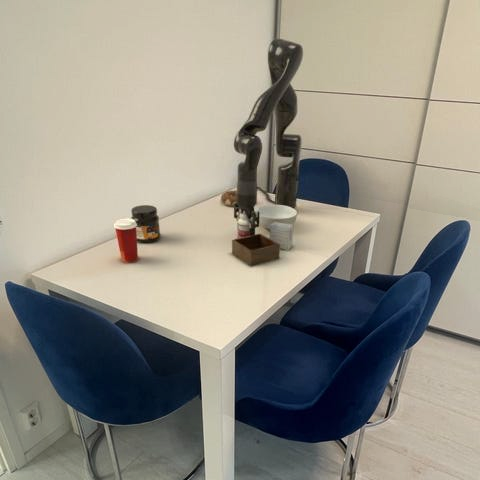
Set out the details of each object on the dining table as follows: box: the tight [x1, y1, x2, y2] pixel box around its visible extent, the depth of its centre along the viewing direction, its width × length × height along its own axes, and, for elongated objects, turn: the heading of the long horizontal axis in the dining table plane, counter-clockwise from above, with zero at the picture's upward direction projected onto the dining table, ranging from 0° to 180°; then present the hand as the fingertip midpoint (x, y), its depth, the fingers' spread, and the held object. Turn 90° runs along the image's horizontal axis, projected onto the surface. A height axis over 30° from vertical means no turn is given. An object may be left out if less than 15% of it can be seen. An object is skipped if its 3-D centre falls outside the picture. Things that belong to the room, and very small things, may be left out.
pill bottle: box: [237, 213, 252, 239], centre depth 176 cm, size 6×6×11 cm
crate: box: [231, 233, 281, 267], centre depth 165 cm, size 12×12×6 cm
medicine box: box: [268, 222, 294, 251], centre depth 172 cm, size 8×4×9 cm, turn 65°
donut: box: [220, 190, 237, 207], centre depth 218 cm, size 14×14×5 cm
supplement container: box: [130, 204, 161, 244], centre depth 177 cm, size 10×10×12 cm
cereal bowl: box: [255, 204, 298, 230], centre depth 190 cm, size 17×17×7 cm
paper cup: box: [113, 218, 139, 264], centre depth 159 cm, size 8×8×14 cm
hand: (246, 233), depth 177 cm, fingers open, 7 cm apart
